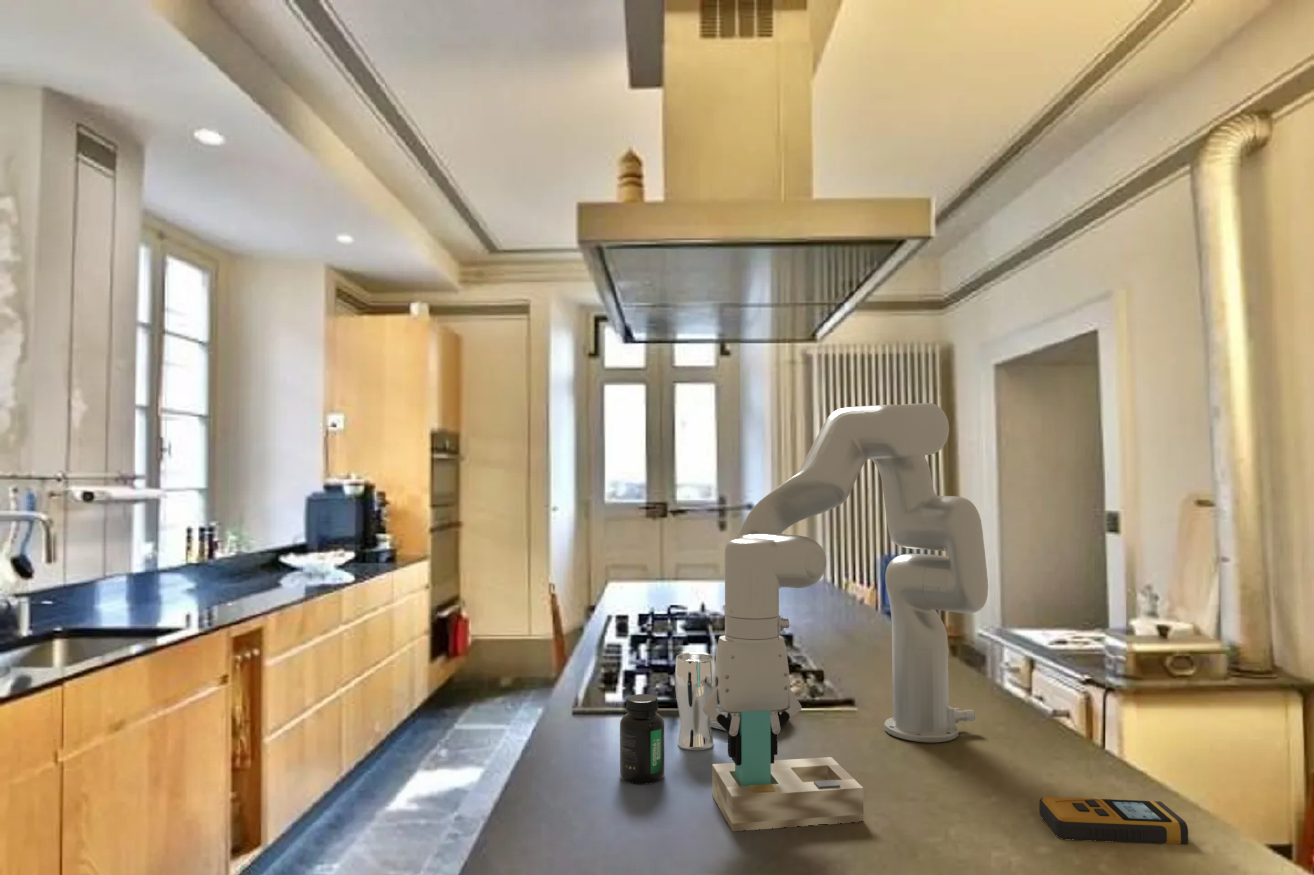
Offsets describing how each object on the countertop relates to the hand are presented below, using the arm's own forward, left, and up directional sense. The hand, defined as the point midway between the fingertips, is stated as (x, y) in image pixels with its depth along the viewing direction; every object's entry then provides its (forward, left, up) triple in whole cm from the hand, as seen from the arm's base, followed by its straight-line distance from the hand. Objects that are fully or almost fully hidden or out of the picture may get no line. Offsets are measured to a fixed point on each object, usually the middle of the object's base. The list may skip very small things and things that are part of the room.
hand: (752, 759), depth 115 cm
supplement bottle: (+13, -15, -7) cm, 21 cm away
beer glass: (+2, -28, -7) cm, 29 cm away
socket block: (-5, 0, -7) cm, 8 cm away
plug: (0, 0, -3) cm, 3 cm away
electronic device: (-45, +13, -8) cm, 47 cm away
